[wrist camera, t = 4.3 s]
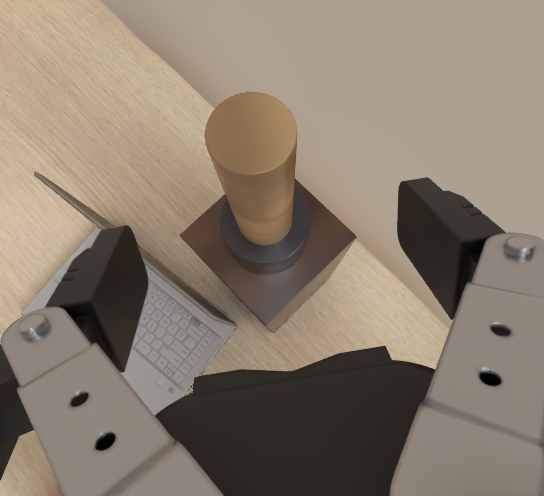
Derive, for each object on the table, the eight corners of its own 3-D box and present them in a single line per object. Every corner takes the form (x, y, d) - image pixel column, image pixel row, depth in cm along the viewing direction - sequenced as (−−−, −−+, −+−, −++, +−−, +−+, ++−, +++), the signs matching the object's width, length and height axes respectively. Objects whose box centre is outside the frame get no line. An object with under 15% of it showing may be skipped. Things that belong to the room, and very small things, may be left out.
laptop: (23, 313, 41) (-93, 300, 29) (107, 219, 43) (34, 167, 31) (155, 431, 38) (91, 475, 26) (239, 324, 40) (218, 315, 28)
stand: (329, 277, 41) (357, 236, 26) (273, 333, 40) (265, 326, 25) (274, 223, 43) (268, 153, 27) (218, 275, 42) (178, 235, 26)
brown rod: (296, 191, 26) (307, 51, 14) (315, 265, 25) (345, 185, 13) (221, 207, 26) (162, 82, 14) (236, 282, 25) (188, 221, 13)
